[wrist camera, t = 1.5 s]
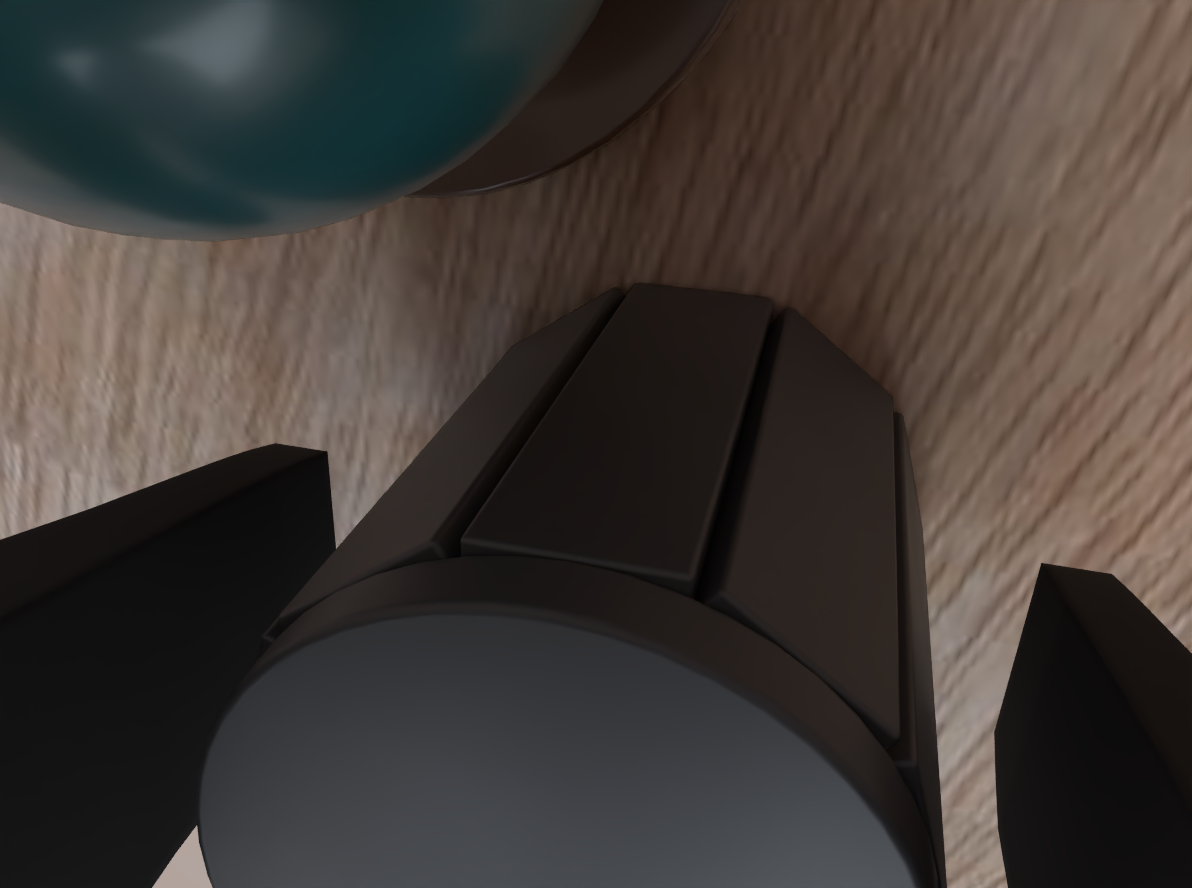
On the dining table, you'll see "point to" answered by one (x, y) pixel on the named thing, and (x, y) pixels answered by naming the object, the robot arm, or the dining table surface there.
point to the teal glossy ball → (317, 103)
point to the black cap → (609, 634)
